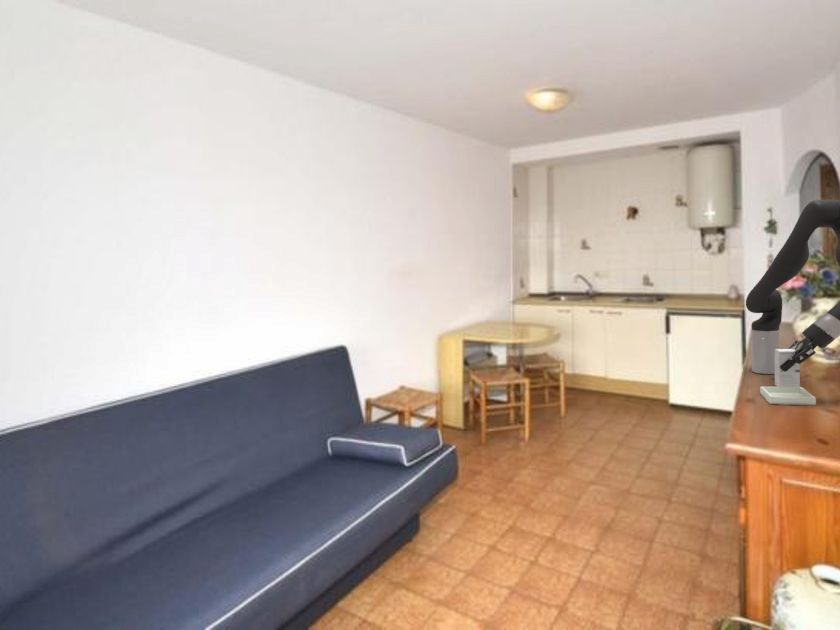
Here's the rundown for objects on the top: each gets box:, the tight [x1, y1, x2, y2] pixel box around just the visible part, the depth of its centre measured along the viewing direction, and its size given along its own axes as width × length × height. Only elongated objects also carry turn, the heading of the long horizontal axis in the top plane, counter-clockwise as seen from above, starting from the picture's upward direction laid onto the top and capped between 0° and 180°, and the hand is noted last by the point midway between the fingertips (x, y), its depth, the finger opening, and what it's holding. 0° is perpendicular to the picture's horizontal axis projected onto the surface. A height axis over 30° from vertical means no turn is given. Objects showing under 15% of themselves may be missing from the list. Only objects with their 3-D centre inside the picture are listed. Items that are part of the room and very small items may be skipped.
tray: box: [759, 385, 817, 407], centre depth 171 cm, size 14×12×2 cm
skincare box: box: [774, 348, 801, 388], centre depth 170 cm, size 6×4×12 cm
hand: (780, 367), depth 170 cm, fingers closed on skincare box, 4 cm apart
